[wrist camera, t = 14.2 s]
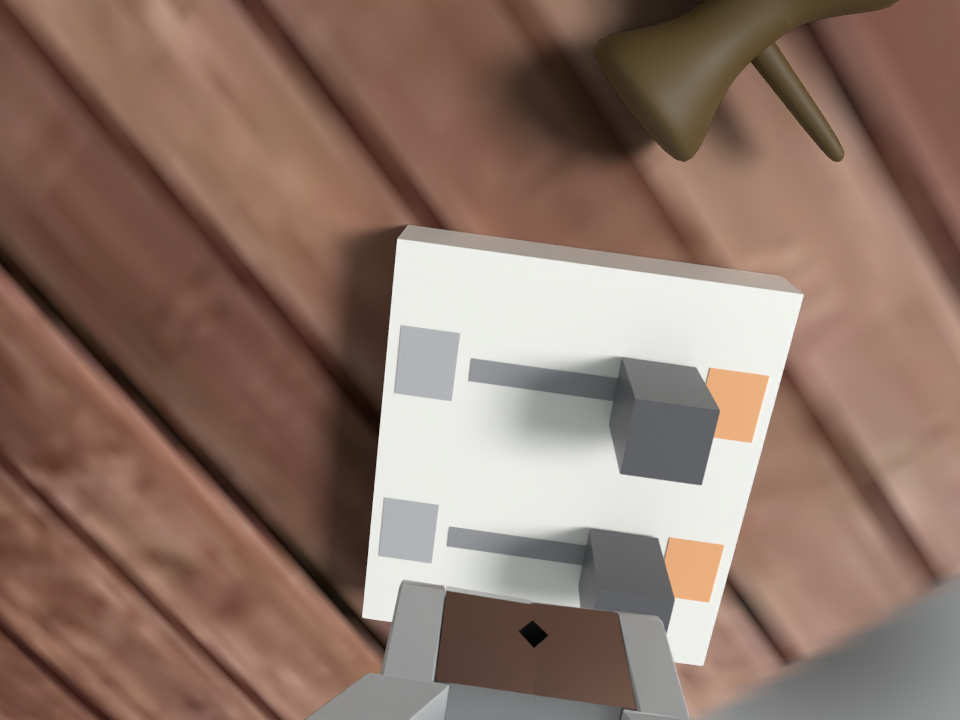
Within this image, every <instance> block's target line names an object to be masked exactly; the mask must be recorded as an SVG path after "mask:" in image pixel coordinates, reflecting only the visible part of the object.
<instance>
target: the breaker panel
mask: <svg viewBox="0 0 960 720" xmlns="http://www.w3.org/2000/svg"><path fill="white" fill-rule="evenodd" d="M803 296H804V294H803V293H802V292H800V291H799V290H798V289H797V288H796V287H794V286H793V285H792V284H791V283H790V282H788V281H787V280H786V279H785V278H783V277H782V276H779V275H771V274H764V273H757V272H749V271H742V270H735V269H727V268H720V267H713V266H705V265H698V264H691V263H684V262H676V261H669V260H662V259H654V258H647V257H640V256H632V255H625V254H618V253H610V252H603V251H596V250H588V249H581V248H574V247H566V246H559V245H552V244H544V243H537V242H530V241H523V240H515V239H508V238H501V237H493V236H486V235H479V234H471V233H464V232H457V231H449V230H442V229H435V228H427V227H420V226H413V225H407V227H406V228H405V229H404V231H403V232H402V233H401V235H400V236H399V237H398V238H397V247H396V258H395V269H394V280H393V290H392V301H391V312H390V323H389V334H388V344H387V355H386V366H385V377H384V388H383V399H382V409H381V420H380V431H379V442H378V453H377V464H376V474H375V485H374V496H373V507H372V518H371V529H370V539H369V550H368V561H367V572H366V583H365V593H364V604H363V615H362V618H368V619H375V620H382V621H389V622H392V619H393V614H394V609H395V605H396V600H397V595H398V591H399V586H400V584H401V582H402V581H403V580H410V581H417V582H424V583H431V584H437V585H444V587H445V593H446V587H447V586H450V587H456V588H462V589H468V590H474V591H480V592H486V593H492V594H498V595H504V596H510V597H515V598H521V599H527V600H531V601H534V602H541V603H549V604H556V605H564V606H572V607H579V608H580V599H579V588H578V585H579V580H580V575H581V570H582V565H583V560H584V555H585V550H586V545H587V540H588V535H589V530H590V529H597V530H604V531H611V532H618V533H625V534H632V535H640V536H647V537H654V538H658V540H659V543H660V547H661V551H662V554H663V558H664V561H665V565H666V569H667V572H668V576H669V580H670V583H671V587H672V591H673V594H674V598H675V602H674V606H673V610H672V614H671V618H670V622H669V626H668V630H667V634H666V635H667V639H668V642H669V646H670V649H671V653H672V656H673V660H674V662H678V663H685V664H692V665H699V666H703V664H704V660H705V657H706V653H707V649H708V646H709V642H710V638H711V635H712V631H713V627H714V624H715V620H716V616H717V613H718V609H719V605H720V601H721V598H722V594H723V590H724V587H725V583H726V579H727V576H728V572H729V568H730V565H731V561H732V557H733V554H734V550H735V546H736V543H737V539H738V535H739V531H740V528H741V524H742V520H743V517H744V513H745V509H746V506H747V502H748V498H749V495H750V491H751V487H752V484H753V480H754V476H755V473H756V469H757V465H758V462H759V458H760V454H761V450H762V447H763V443H764V439H765V436H766V432H767V428H768V425H769V421H770V417H771V414H772V410H773V406H774V403H775V399H776V395H777V392H778V388H779V384H780V380H781V377H782V373H783V369H784V366H785V362H786V358H787V355H788V351H789V347H790V344H791V340H792V336H793V333H794V329H795V325H796V322H797V318H798V314H799V310H800V307H801V303H802V299H803ZM622 357H625V358H632V359H640V360H647V361H654V362H661V363H669V364H676V365H683V366H690V367H696V368H697V370H698V371H699V373H700V375H701V377H702V379H703V380H704V382H705V384H706V386H707V388H708V389H709V391H710V393H711V395H712V397H713V398H714V400H715V402H716V404H717V406H718V407H719V409H720V414H719V418H718V422H717V426H716V430H715V434H714V438H713V442H712V446H711V450H710V454H709V458H708V462H707V466H706V470H705V474H704V478H703V482H702V485H694V484H687V483H680V482H673V481H666V480H658V479H651V478H644V477H637V476H630V475H623V474H620V472H619V468H618V463H617V459H616V454H615V450H614V445H613V441H612V436H611V432H610V428H609V421H610V416H611V411H612V406H613V401H614V396H615V391H616V386H617V381H618V376H619V371H620V366H621V361H622Z"/></svg>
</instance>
